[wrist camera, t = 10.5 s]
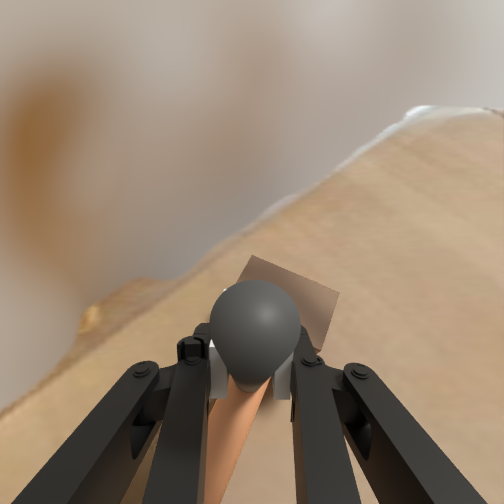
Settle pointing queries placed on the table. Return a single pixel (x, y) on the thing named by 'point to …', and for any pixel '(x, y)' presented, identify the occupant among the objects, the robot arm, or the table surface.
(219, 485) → the sliding bolt
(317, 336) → the socket
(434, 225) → the table surface
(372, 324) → the table surface
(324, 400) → the robot arm
